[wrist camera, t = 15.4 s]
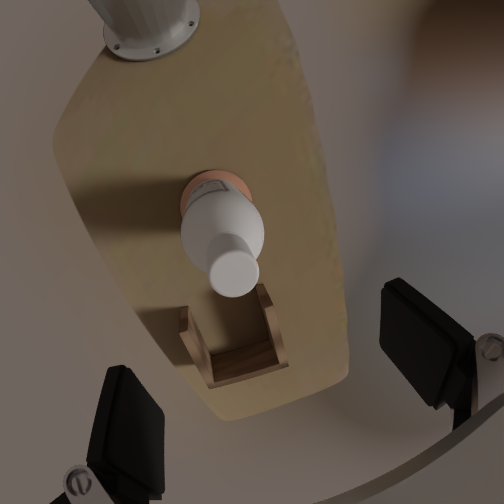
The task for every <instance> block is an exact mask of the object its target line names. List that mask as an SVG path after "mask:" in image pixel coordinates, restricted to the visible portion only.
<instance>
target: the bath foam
mask: <svg viewBox="0 0 504 504" xmlns="http://www.w3.org/2000/svg"><path fill="white" fill-rule="evenodd" d="M180 234H181V241H182V245H183V248H184V251H185V253H186V255H187V256H188V258H189V259H190V261H191V262H192V263H193V264H194V265H195V266H196V267H197V268H199V269H200V270H202V271H203V272H205V273H207V276H208V280H209V283H210V285H211V287H212V288H213V289H214V290H215V291H216V292H217V293H219V294H220V295H223V296H226V297H239V296H242V295H244V294H246V293H248V292H249V291H251V290H252V289H253V287H254V286H255V285H256V283H257V281H258V277H259V267H258V264H257V261H256V259H257V257H258V256H259V254H260V251H261V249H262V246H263V241H264V227H263V222H262V219H261V216H260V214H259V212H258V210H257V209H256V207H255V206H254V205H253V203H252V202H251V201H250V200H249V199H248V198H247V197H246V196H245V195H244V194H243V193H242V192H241V191H240V190H238V189H237V188H236V187H235V186H234V185H233V184H231V183H230V182H228V181H225V180H222V179H210V180H206V181H204V182H202V183H200V184H198V185H197V186H196V187H195V188H194V189H193V190H192V192H191V193H190V195H189V198H188V201H187V204H186V208H185V211H184V215H183V219H182V223H181V230H180Z"/></svg>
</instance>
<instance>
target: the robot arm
mask: <svg viewBox="0 0 504 504" xmlns="http://www.w3.org/2000/svg"><path fill="white" fill-rule="evenodd" d="M88 1H89V2H90V4H91V5H92V6H93V8H94V9H95V10H96V11H97V12H98V14H99V15H100V16H101V18H102V19H103V20H104V22H105V24H104V29H103V37H104V40H105V43H106V45H107V46H108V48H109V49H110V50H111V51H112V52H113V53H114V54H115V55H117V56H118V57H120V58H123V59H125V60H130V61H149V60H154V59H158V58H161V57H164V56H166V55H168V54H171V53H172V52H174V51H176V50H177V49H179V48H180V47H181V46H183V45H184V44H185V43H186V42H187V41H188V40H189V39H190V38H191V37H192V35H193V34H194V32H195V30H196V29H197V26H198V23H199V17H200V9H199V6H198V3H197V1H196V0H88ZM190 25H193V26H190ZM118 48H119V49H118ZM117 49H118V50H117ZM157 52H160V53H158V54H156V53H157ZM473 338H474V336H472V335H471V334H470V333H469V332H468V331H467V330H465V329H464V328H463V327H462V326H461V325H460V324H458V323H457V322H456V321H455V320H454V319H452V318H451V317H450V316H449V315H448V314H446V313H445V312H444V311H442V310H441V309H440V308H439V307H438V306H436V305H435V304H434V303H433V302H431V301H430V300H429V299H428V298H426V297H425V296H424V295H422V294H421V293H420V292H418V291H417V290H416V289H415V288H413V287H412V286H411V285H409V284H408V283H407V282H405V281H404V280H403V279H401V278H396V279H393V280H391V281H388V282H386V283H385V285H384V288H383V289H382V290H381V320H380V338H379V342H380V346H381V348H382V350H383V351H384V352H385V353H386V354H387V356H388V357H389V358H390V359H391V361H392V362H393V363H394V364H395V365H396V367H397V368H398V369H399V370H400V372H401V373H402V374H403V375H404V376H405V378H406V379H407V380H408V381H409V383H410V384H411V385H412V386H413V387H414V389H415V390H416V391H417V393H418V394H419V395H420V396H421V398H422V399H423V400H424V401H425V403H426V404H427V405H428V406H433V407H434V409H435V410H438V409H439V408H440V407H442V406H443V405H445V404H446V403H447V404H448V406H449V407H450V419H449V428H448V435H447V436H446V437H444V438H443V439H441V440H440V441H438V442H437V443H435V444H434V445H433V446H431V447H430V448H428V449H427V450H425V451H423V452H422V453H420V454H419V455H417V456H416V457H414V458H412V459H411V460H409V461H407V462H406V463H404V464H402V465H400V466H399V467H397V468H395V469H393V470H391V471H389V472H387V473H385V474H384V475H382V476H380V477H378V478H376V479H374V480H371V481H369V482H367V483H365V484H363V485H361V486H358V487H356V488H354V489H352V490H349V491H347V492H344V493H342V494H340V495H337V496H334V497H331V498H329V499H326V500H323V501H320V502H317V503H314V504H504V337H502V336H501V335H498V334H495V333H488V334H484V335H482V336H481V337H479V339H478V340H477V342H476V341H475V340H474V339H473ZM164 426H165V417H164V413H163V411H162V409H161V408H160V407H159V406H158V405H157V403H156V402H155V401H154V399H153V398H152V397H151V396H150V394H149V393H148V392H147V390H146V389H145V388H144V386H142V384H141V382H140V381H139V380H138V378H137V377H136V376H135V374H134V373H133V372H132V370H131V369H130V368H126V366H124V365H118V366H113V367H109V368H108V370H107V373H106V376H105V380H104V383H103V387H102V391H101V395H100V398H99V402H98V406H97V411H96V415H95V419H94V423H93V428H92V432H91V438H90V442H89V447H88V453H87V458H86V461H87V466H84V465H75V466H73V467H71V468H70V469H69V470H68V471H67V472H66V474H65V475H64V479H63V487H64V491H65V492H64V493H62V494H61V495H60V496H59V497H58V498H56V499H55V500H54V501H52V502H51V503H50V504H149V500H162V495H161V494H163V493H164V491H165V477H164Z"/></svg>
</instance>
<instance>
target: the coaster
mask: <svg viewBox="0 0 504 504" xmlns="http://www.w3.org/2000/svg"><path fill="white" fill-rule="evenodd" d="M210 179H222V180H225V181H228V182H230V183H231V184H233V185H234V186H235V187H236V188H237V189H238V190H240V191H241V192H242V193H243V194H244V195H245V196H246V197H247V198H248V199H249V200H250V201H251V202H252V197H251V194H250V191H249V189H248V187H247V186H246V184H245V183H244V182H243V181H242V180H241V179H240V178H239V177H237V176H236V175H234V174H232V173H230V172H227V171H223V170H210V171H206V172H203V173H201V174H199V175H197V176H196V177H194V178H193V179H192V180H191V181H190V182H189V183H188V185H187V186H186V188H185V189H184V191H183V194H182V197H181V202H180V211H181V216H182V219H183V215H184V211H185V208H186V204H187V201H188V198H189V195H190V193H191V192H192V190H193V189H194V188H195V187H196V186H197V185H198V184H200V183H202V182H204V181H206V180H210Z"/></svg>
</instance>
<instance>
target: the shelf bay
mask: <svg viewBox="0 0 504 504" xmlns="http://www.w3.org/2000/svg"><path fill="white" fill-rule="evenodd" d="M255 287H256V291H257V294H258V298H259V302H260V305H261V309H262V312H263V316H264V319H265V323H266V326H267V330H268V333H269V337H270V339H269V340H266V341H263V342H260V343H257V344H253V345H250V346H247V347H243V348H240V349H237V350H233V351H230V352H226V353H223V354H219V355H215V356H211V355H210V353H209V351H208V348H207V346H206V344H205V342H204V340H203V338H202V336H201V333H200V331H199V329H198V327H197V325H196V322H195V320H194V318H193V315H192V313H191V311H190V309H189V306H187V307H183V308H181V311H180V325H179V334H180V336H181V338H182V340H183V342H184V344H185V346H186V348H187V350H188V352H189V354H190V355H191V357H192V359H193V361H194V363H195V365H196V367H197V368H198V370H199V372H200V374H201V376H202V377H203V379H204V381H205V383H206V384H207V386H208V388H209V389H213V388H217V387H221V386H224V385H228V384H232V383H236V382H239V381H243V380H247V379H250V378H253V377H257V376H260V375H263V374H267V373H270V372H273V371H276V370H279V369H282V368H285V367H288V366H289V365H288V361H287V357H286V353H285V349H284V345H283V341H282V337H281V333H280V329H279V325H278V321H277V317H276V313H275V309H274V305H273V303H272V301H271V299H270V297H269V295H268V292H267V290H266V288H265V286H264V284H260V285H257V286H255Z"/></svg>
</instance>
